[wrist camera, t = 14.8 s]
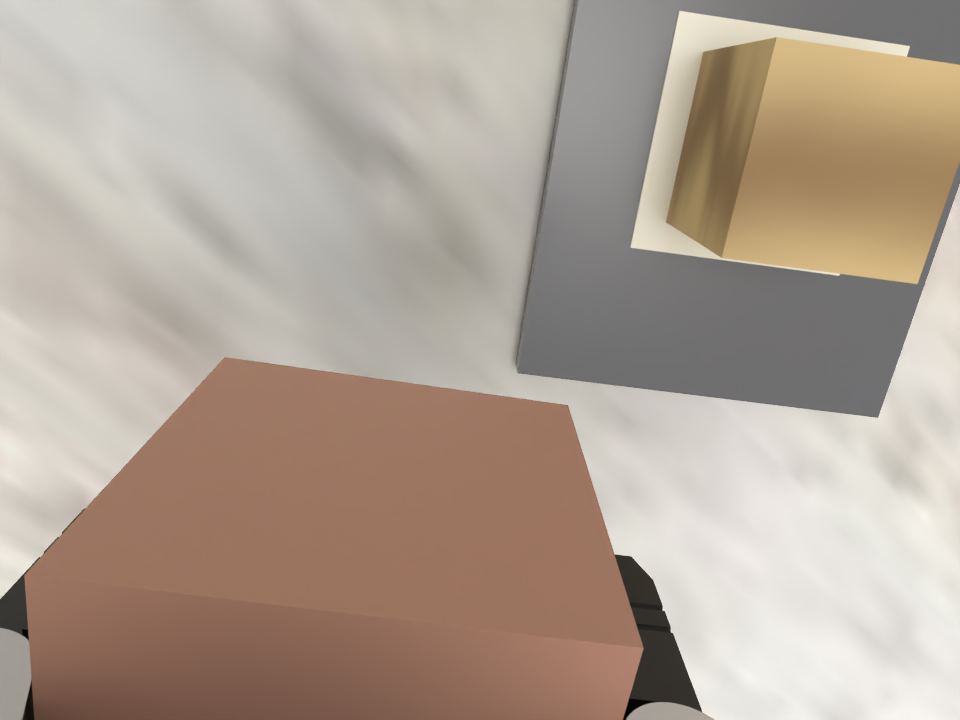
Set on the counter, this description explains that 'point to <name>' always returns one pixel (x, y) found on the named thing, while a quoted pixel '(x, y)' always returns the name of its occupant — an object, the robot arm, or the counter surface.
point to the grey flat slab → (676, 257)
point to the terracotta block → (337, 564)
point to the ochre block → (818, 157)
